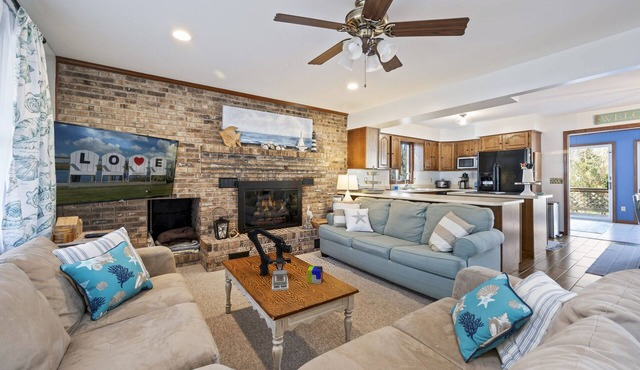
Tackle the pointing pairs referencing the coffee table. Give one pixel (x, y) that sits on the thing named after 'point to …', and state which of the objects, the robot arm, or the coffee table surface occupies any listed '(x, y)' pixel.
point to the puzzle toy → (315, 274)
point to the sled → (281, 277)
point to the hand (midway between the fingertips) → (279, 271)
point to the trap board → (280, 284)
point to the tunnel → (278, 273)
